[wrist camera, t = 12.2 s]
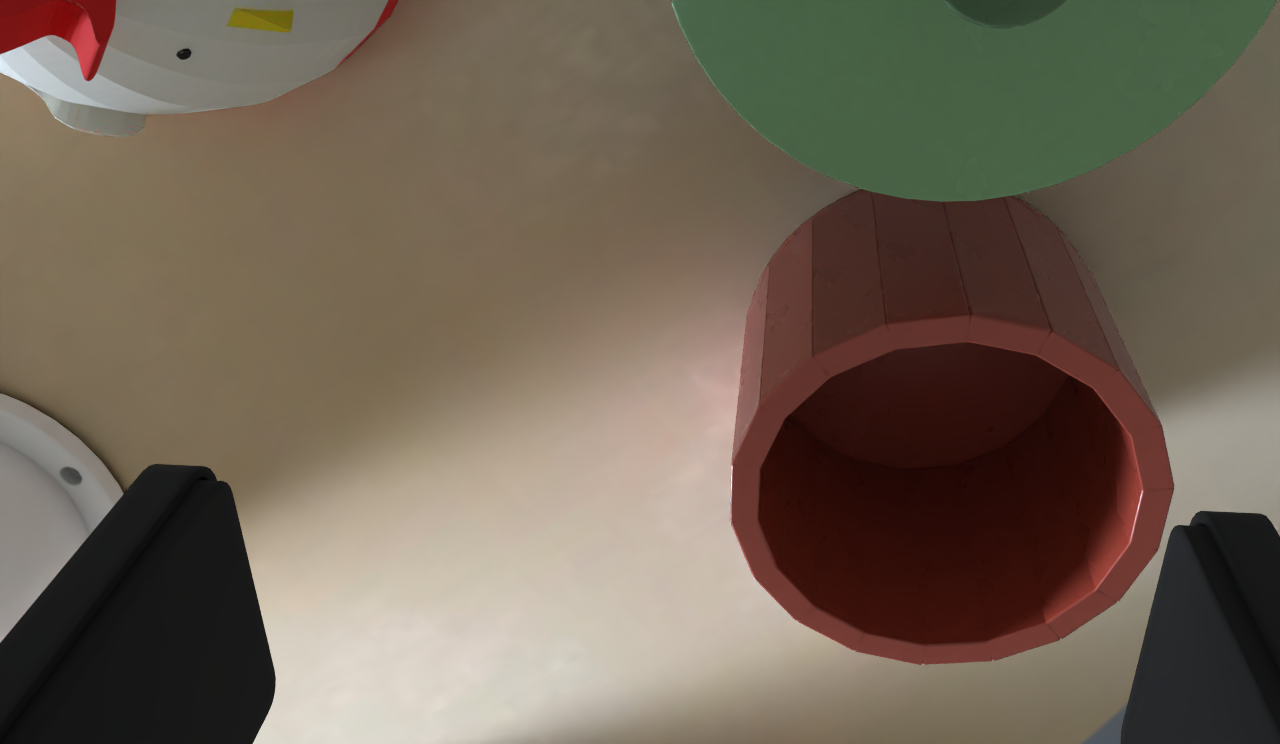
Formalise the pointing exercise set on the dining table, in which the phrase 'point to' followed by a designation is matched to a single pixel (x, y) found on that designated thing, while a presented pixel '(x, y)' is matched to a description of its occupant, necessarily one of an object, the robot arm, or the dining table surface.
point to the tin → (941, 433)
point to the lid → (963, 82)
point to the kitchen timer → (174, 53)
